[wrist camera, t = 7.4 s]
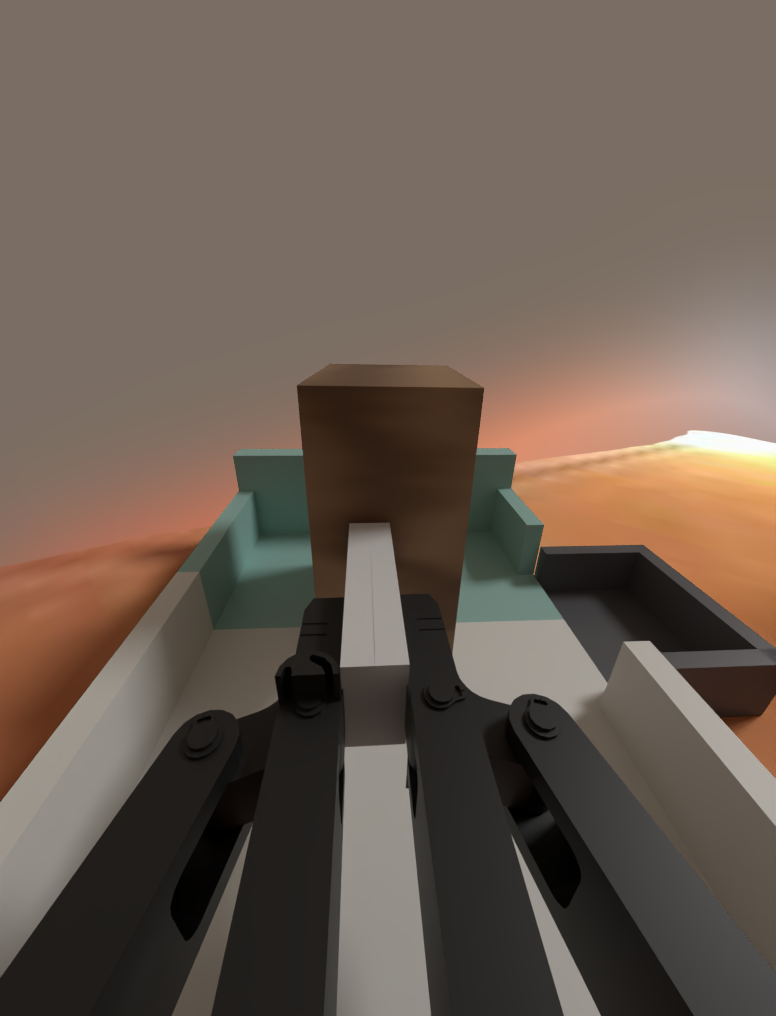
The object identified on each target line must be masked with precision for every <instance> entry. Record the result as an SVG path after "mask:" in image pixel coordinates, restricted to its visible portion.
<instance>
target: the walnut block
mask: <svg viewBox="0 0 776 1016" xmlns="http://www.w3.org/2000/svg"><path fill="white" fill-rule="evenodd" d="M297 391H298V402H299V415H300V426H301V437H302V449H303V461H304V472H305V484H306V495H307V507H308V518H309V530H310V541H311V553H312V564H313V576H314V587H315V598H338V597H345V584H346V568H347V553H348V538H349V523H390V529H391V536H392V543H393V550H394V557H395V564H396V571H397V578H398V586H399V593H400V595H404V594H429V595H430V596H431V597H432V598H433V599H434V600H435V601H436V602H437V604H438V605H439V608H440V612H441V615H442V620H443V623H444V626H445V631H446V634H447V637H448V641H449V644H450V648H451V652H452V653H453V644H454V636H455V628H456V619H457V611H458V602H459V594H460V586H461V577H462V569H463V561H464V552H465V544H466V536H467V527H468V519H469V510H470V502H471V494H472V485H473V477H474V469H475V460H476V452H477V443H478V435H479V427H480V418H481V409H482V402H483V393H484V388H483V387H481V386H480V385H478V384H477V383H475V382H473V381H472V380H470V379H468V378H466V377H465V376H463V375H462V374H459V373H458V372H457V371H455V370H453V369H451V368H450V367H448V366H430V365H426V366H425V365H360V364H359V365H357V364H329V365H328V366H326V367H325V368H323V369H321V370H320V371H318V372H317V373H315V374H314V375H312V376H311V377H309V378H308V379H306V380H305V381H303V382H301V383H300V384H298V385H297Z"/></svg>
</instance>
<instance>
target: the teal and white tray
mask: <svg viewBox="0 0 776 1016" xmlns="http://www.w3.org/2000/svg"><path fill="white" fill-rule="evenodd" d="M233 458H234V464H235V469H236V475H237V481H238V487H239V492H238V493H237V494H236V496H235V497H234V498H233V500H232V501H231V502H230V504H229V505H228V506H227V507H226V509H225V510H224V511H223V513H222V514H221V515H220V517H219V518H218V519H217V521H216V522H215V523H214V524H213V526H212V527H211V528H210V530H209V531H208V532H207V533H206V535H205V536H204V537H203V539H202V540H201V541H200V543H199V544H198V545H197V547H196V548H195V549H194V550H193V552H192V553H191V554H190V556H189V557H188V558H187V560H186V561H185V562H184V563H183V565H182V566H181V567H180V569H179V570H178V571H177V573H176V574H175V575H174V577H173V578H172V579H171V580H170V582H169V583H168V584H167V586H166V587H165V588H164V590H163V591H162V592H161V593H160V595H159V596H158V597H157V599H156V600H155V601H154V603H153V604H152V605H151V607H150V608H149V609H148V610H147V612H146V613H145V614H144V616H143V617H142V618H141V620H140V621H139V622H138V623H137V625H136V626H135V627H134V629H133V630H132V631H131V633H130V634H129V635H128V636H127V638H126V639H125V640H124V642H123V643H122V644H121V646H120V647H119V648H118V650H117V651H116V652H115V653H114V655H113V656H112V657H111V659H110V660H109V661H108V663H107V664H106V665H105V666H104V668H103V669H102V670H101V672H100V673H99V674H98V676H97V677H96V678H95V680H94V681H93V682H92V683H91V685H90V686H89V687H88V689H87V690H86V691H85V693H84V694H83V695H82V696H81V698H80V699H79V700H78V702H77V703H76V704H75V706H74V707H73V708H72V710H71V711H70V712H69V713H68V715H67V716H66V717H65V719H64V720H63V721H62V723H61V724H60V725H59V726H58V728H57V729H56V730H55V732H54V733H53V734H52V736H51V737H50V738H49V740H48V741H47V742H46V743H45V745H44V746H43V747H42V749H41V750H40V751H39V753H38V754H37V755H36V756H35V758H34V759H33V760H32V762H31V763H30V764H29V766H28V767H27V768H26V770H25V771H24V772H23V773H22V775H21V776H20V777H19V779H18V780H17V781H16V783H15V784H14V785H13V786H12V788H11V789H10V790H9V792H8V793H7V794H6V796H5V797H4V798H3V799H2V801H1V802H0V978H1V976H2V975H3V973H4V972H5V971H6V969H7V968H8V966H9V965H10V963H11V962H12V961H13V959H14V958H15V956H16V955H17V954H18V952H19V951H20V949H21V948H22V947H23V945H24V944H25V942H26V941H27V940H28V938H29V937H30V935H31V934H32V933H33V931H34V930H35V928H36V927H37V926H38V924H39V923H40V921H41V920H42V918H43V917H44V916H45V914H46V913H47V911H48V910H49V909H50V907H51V906H52V904H53V903H54V902H55V900H56V899H57V897H58V896H59V895H60V893H61V892H62V890H63V889H64V888H65V886H66V885H67V883H68V882H69V881H70V879H71V878H72V876H73V875H74V873H75V872H76V871H77V869H78V868H79V866H80V865H81V864H82V862H83V861H84V859H85V858H86V857H87V855H88V854H89V852H90V851H91V850H92V848H93V847H94V845H95V844H96V843H97V841H98V840H99V838H100V837H101V836H102V834H103V833H104V831H105V830H106V829H107V827H108V826H109V824H110V823H111V821H112V820H113V819H114V817H115V816H116V814H117V813H118V812H119V810H120V809H121V807H122V806H123V805H124V803H125V802H126V800H127V799H128V798H129V796H130V795H131V793H132V792H133V791H134V789H135V788H136V786H137V785H138V784H139V782H140V781H141V779H142V778H143V776H144V775H145V774H146V772H147V771H148V769H149V768H150V767H151V765H152V764H153V762H154V761H155V760H156V758H157V757H158V755H159V754H160V753H161V751H162V750H163V748H164V747H165V746H166V744H167V743H168V741H169V740H170V739H171V737H172V736H173V734H174V733H175V732H176V731H177V730H178V729H179V728H180V727H181V726H182V725H183V724H184V723H185V722H186V721H188V720H189V719H191V718H192V717H194V716H195V715H197V714H200V713H203V712H206V711H209V710H225V711H227V712H229V713H231V714H233V715H234V717H235V718H236V719H238V718H241V717H244V716H247V715H250V714H253V713H256V712H258V711H261V710H263V709H265V708H267V707H269V706H270V705H272V704H273V703H275V702H276V701H277V700H278V695H277V689H276V683H275V677H274V676H275V674H276V672H277V670H278V668H279V666H280V665H281V664H282V663H283V662H284V661H285V660H287V659H288V658H289V657H291V656H293V655H295V654H296V649H297V644H298V639H299V636H300V635H299V634H300V630H301V626H302V620H303V615H304V610H305V609H306V607H307V606H308V605H309V604H310V602H311V601H312V600H313V599H314V598H315V587H314V576H313V564H312V553H311V541H310V530H309V518H308V507H307V495H306V484H305V472H304V461H303V449H240V450H239V451H238V452H237V453H236V454H234V456H233ZM515 460H516V454H515V453H514V452H513V451H511V450H510V449H509V448H497V449H496V448H491V449H490V448H485V449H484V448H481V449H480V448H477V452H476V460H475V469H474V477H473V485H472V494H471V502H470V510H469V519H468V527H467V536H466V544H465V552H464V561H463V569H462V577H461V586H460V594H459V602H458V611H457V619H456V628H455V636H454V644H453V653H452V655H453V659H454V663H455V666H456V670H457V673H458V675H459V677H460V679H461V681H462V682H463V683H464V684H465V685H466V687H467V688H469V689H470V690H471V691H472V692H474V693H476V694H477V695H479V696H481V697H484V698H486V699H489V700H493V701H497V702H501V703H505V704H509V705H511V704H512V702H513V700H514V699H516V698H517V697H519V696H521V695H523V694H537V695H541V696H545V697H547V698H549V699H551V700H553V701H555V702H556V703H558V704H559V705H560V706H561V707H562V708H563V709H564V710H565V711H566V712H568V714H569V715H570V716H571V717H572V719H573V720H574V721H575V722H576V724H577V725H578V726H579V727H580V729H581V730H582V731H583V732H584V734H585V735H586V736H587V737H588V739H589V740H590V741H591V742H592V744H593V745H594V746H595V747H596V749H597V750H598V751H599V752H600V754H601V755H602V756H603V757H604V759H605V760H606V761H607V762H608V764H609V765H610V766H611V767H612V769H613V770H614V771H615V772H616V774H617V775H618V776H619V777H620V779H621V780H622V781H623V782H624V784H625V785H626V786H627V787H628V789H629V790H630V791H631V792H632V794H633V795H634V796H635V797H636V799H637V800H638V801H639V803H640V804H641V805H642V806H643V808H644V809H645V810H646V811H647V813H648V814H649V815H650V816H651V818H652V819H653V820H654V821H655V823H656V824H657V825H658V826H659V828H660V829H661V830H662V831H663V833H664V834H665V835H666V836H667V838H668V839H669V840H670V841H671V843H672V844H673V845H674V846H675V848H676V849H677V850H678V851H679V853H680V854H681V855H682V856H683V858H684V859H685V860H686V861H687V863H688V864H689V865H690V866H691V868H692V869H693V870H694V871H695V873H696V874H697V875H698V876H699V878H700V879H701V880H702V881H703V883H704V884H705V885H706V886H707V888H708V889H709V890H710V891H711V893H712V894H713V895H714V896H715V898H716V899H717V900H718V902H719V903H720V904H721V905H722V907H723V908H724V909H725V910H726V912H727V913H728V914H729V915H730V917H731V918H732V919H733V920H734V922H735V923H736V924H737V925H738V927H739V928H740V929H741V930H742V932H743V933H744V934H745V935H746V937H747V938H748V939H749V940H750V942H751V943H752V944H753V945H754V947H755V948H756V949H757V950H758V952H759V953H760V954H761V955H762V957H763V958H764V959H765V960H766V962H767V963H768V964H769V965H770V967H771V968H772V969H773V970H774V972H775V973H776V779H775V778H774V777H773V776H772V774H771V773H770V772H769V771H768V770H767V769H766V768H765V767H764V766H763V765H762V763H761V762H760V761H759V760H758V759H757V758H756V757H755V756H754V755H753V754H752V752H751V751H750V750H749V749H748V748H747V747H746V746H745V745H744V744H743V743H742V742H741V740H740V739H739V738H738V737H737V736H736V735H735V734H734V733H733V732H732V731H731V729H730V728H729V727H728V726H727V725H726V724H725V723H724V722H723V721H722V720H721V718H720V717H719V716H718V715H717V714H716V713H715V712H714V711H713V710H712V709H711V708H710V706H709V705H708V704H707V703H706V702H705V701H704V700H703V699H702V698H701V697H700V695H699V694H698V693H697V692H696V691H695V690H694V689H693V688H692V687H691V686H690V684H689V683H688V682H687V681H686V680H685V679H684V678H683V677H682V676H681V675H680V674H679V672H678V671H677V670H676V669H675V668H674V667H673V666H672V665H671V664H670V663H669V661H668V660H667V659H666V658H665V657H664V656H663V655H662V654H661V653H660V652H659V650H658V649H657V648H656V647H655V646H654V645H653V644H652V643H651V642H650V641H630V642H623V644H622V647H621V650H620V652H619V655H618V657H617V660H616V663H615V665H614V668H613V671H612V673H611V676H610V678H609V681H608V683H607V682H606V680H605V679H604V677H603V676H602V674H601V673H600V671H599V670H598V669H597V667H596V666H595V664H594V663H593V661H592V660H591V658H590V657H589V655H588V654H587V652H586V651H585V650H584V648H583V647H582V645H581V644H580V642H579V641H578V639H577V638H576V636H575V635H574V633H573V632H572V631H571V629H570V628H569V626H568V625H567V623H566V622H565V620H564V619H563V617H562V616H561V614H560V613H559V612H558V610H557V609H556V607H555V606H554V604H553V603H552V601H551V600H550V598H549V597H548V595H547V594H546V593H545V591H544V590H543V588H542V587H541V585H540V584H539V582H538V581H537V579H536V578H535V576H534V575H533V573H534V568H535V564H536V559H537V554H538V550H539V545H540V541H541V536H542V532H543V527H544V524H543V523H542V522H541V521H540V520H539V519H538V518H537V517H536V516H535V514H534V513H533V512H532V511H531V510H530V509H529V508H528V507H527V506H526V505H525V503H524V502H523V501H522V500H521V499H520V498H519V497H518V496H517V495H516V494H515V492H514V491H513V490H512V489H511V484H512V478H513V472H514V467H515ZM407 758H408V754H407V745H406V742H405V744H396V745H378V746H359V747H345V756H344V763H345V790H344V818H343V846H342V874H341V902H340V930H339V958H338V986H337V1014H336V1016H431V1010H430V1000H429V990H428V979H427V969H426V959H425V949H424V939H423V929H422V918H421V908H420V898H419V888H418V878H417V868H416V858H415V847H414V837H413V827H412V817H411V807H410V797H409V788H406V775H407ZM252 825H253V824H252ZM251 830H252V827H251V829H250V832H249V834H248V836H247V839H246V841H245V843H244V846H243V848H242V850H241V853H240V855H239V858H238V860H237V862H236V865H235V867H234V869H233V872H232V874H231V877H230V879H229V881H228V884H227V886H226V888H225V891H224V893H223V895H222V898H221V900H220V903H219V905H218V907H217V910H216V912H215V914H214V917H213V919H212V922H211V924H210V926H209V929H208V931H207V933H206V936H205V938H204V940H203V943H202V945H201V948H200V950H199V952H198V955H197V957H196V959H195V962H194V964H193V967H192V969H191V971H190V974H189V976H188V978H187V981H186V983H185V985H184V988H183V990H182V993H181V995H180V997H179V1000H178V1002H177V1004H176V1007H175V1009H174V1012H173V1014H172V1016H211V1013H212V1008H213V1004H214V999H215V995H216V990H217V985H218V981H219V976H220V972H221V967H222V963H223V958H224V953H225V949H226V944H227V940H228V935H229V930H230V926H231V921H232V917H233V912H234V908H235V903H236V898H237V894H238V889H239V885H240V880H241V875H242V871H243V866H244V862H245V857H246V852H247V848H248V843H249V839H250V834H251ZM511 836H512V835H511ZM512 839H513V837H512ZM513 843H514V846H515V849H516V853H517V856H518V860H519V863H520V867H521V870H522V873H523V877H524V880H525V884H526V887H527V891H528V894H529V897H530V901H531V904H532V908H533V911H534V915H535V918H536V922H537V925H538V928H539V932H540V935H541V939H542V942H543V946H544V949H545V952H546V956H547V959H548V963H549V966H550V970H551V973H552V976H553V980H554V983H555V987H556V990H557V994H558V997H559V1000H560V1004H561V1007H562V1011H563V1014H564V1016H601V1015H600V1013H599V1011H598V1009H597V1006H596V1004H595V1002H594V1000H593V998H592V996H591V994H590V992H589V990H588V988H587V986H586V984H585V982H584V980H583V978H582V976H581V974H580V972H579V970H578V968H577V966H576V964H575V962H574V960H573V958H572V956H571V954H570V952H569V950H568V948H567V946H566V944H565V942H564V940H563V938H562V936H561V934H560V932H559V930H558V928H557V926H556V924H555V922H554V920H553V918H552V916H551V914H550V912H549V910H548V908H547V906H546V904H545V902H544V900H543V898H542V896H541V893H540V891H539V889H538V887H537V885H536V883H535V881H534V879H533V877H532V875H531V873H530V871H529V869H528V867H527V865H526V863H525V861H524V859H523V857H522V855H521V853H520V851H519V849H518V847H517V845H516V843H515V841H514V839H513Z"/></svg>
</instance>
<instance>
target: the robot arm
mask: <svg viewBox="0 0 776 1016" xmlns="http://www.w3.org/2000/svg"><path fill="white" fill-rule="evenodd" d="M299 635H300V636H299V639H298V644H297V649H296V654H295V655H293V656H291V657H289V658H288V659H287V660H285V661H284V662H283V663H282V664H281V665H280V666H279V668H278V670H277V672H276V674H275V676H274V677H275V683H276V689H277V695H278V700H277V701H276V702H275V703H273V704H272V705H270V706H269V707H267V708H265V709H263V710H261V711H258V712H256V713H253V714H250V715H247V716H244V717H241V718H238V719H236V718H235V717H234V715H233V714H231V713H229V712H227V711H225V710H209V711H206V712H203V713H200V714H197V715H195V716H194V717H192V718H191V719H189V720H188V721H186V722H185V723H184V724H183V725H182V726H181V727H180V728H179V729H178V730H177V731H176V732H175V733H174V734H173V736H172V737H171V739H170V740H169V741H168V743H167V744H166V746H165V747H164V748H163V750H162V751H161V753H160V754H159V755H158V757H157V758H156V760H155V761H154V762H153V764H152V765H151V767H150V768H149V769H148V771H147V772H146V774H145V775H144V776H143V778H142V779H141V781H140V782H139V784H138V785H137V786H136V788H135V789H134V791H133V792H132V793H131V795H130V796H129V798H128V799H127V800H126V802H125V803H124V805H123V806H122V807H121V809H120V810H119V812H118V813H117V814H116V816H115V817H114V819H113V820H112V821H111V823H110V824H109V826H108V827H107V829H106V830H105V831H104V833H103V834H102V836H101V837H100V838H99V840H98V841H97V843H96V844H95V845H94V847H93V848H92V850H91V851H90V852H89V854H88V855H87V857H86V858H85V859H84V861H83V862H82V864H81V865H80V866H79V868H78V869H77V871H76V872H75V873H74V875H73V876H72V878H71V879H70V881H69V882H68V883H67V885H66V886H65V888H64V889H63V890H62V892H61V893H60V895H59V896H58V897H57V899H56V900H55V902H54V903H53V904H52V906H51V907H50V909H49V910H48V911H47V913H46V914H45V916H44V917H43V918H42V920H41V921H40V923H39V924H38V926H37V927H36V928H35V930H34V931H33V933H32V934H31V935H30V937H29V938H28V940H27V941H26V942H25V944H24V945H23V947H22V948H21V949H20V951H19V952H18V954H17V955H16V956H15V958H14V959H13V961H12V962H11V963H10V965H9V966H8V968H7V969H6V971H5V972H4V973H3V975H2V976H1V978H0V1016H172V1014H173V1012H174V1009H175V1007H176V1004H177V1002H178V1000H179V997H180V995H181V993H182V990H183V988H184V985H185V983H186V981H187V978H188V976H189V974H190V971H191V969H192V967H193V964H194V962H195V959H196V957H197V955H198V952H199V950H200V948H201V945H202V943H203V940H204V938H205V936H206V933H207V931H208V929H209V926H210V924H211V922H212V919H213V917H214V914H215V912H216V910H217V907H218V905H219V903H220V900H221V898H222V895H223V893H224V891H225V888H226V886H227V884H228V881H229V879H230V877H231V874H232V872H233V869H234V867H235V865H236V862H237V860H238V858H239V855H240V853H241V850H242V848H243V846H244V843H245V841H246V839H247V836H248V834H249V832H250V829H251V827H252V830H251V834H250V839H249V843H248V848H247V852H246V857H245V862H244V866H243V871H242V875H241V880H240V885H239V889H238V894H237V898H236V903H235V908H234V912H233V917H232V921H231V926H230V930H229V935H228V940H227V944H226V949H225V953H224V958H223V963H222V967H221V972H220V976H219V981H218V985H217V990H216V995H215V999H214V1004H213V1008H212V1013H211V1016H336V1014H337V986H338V958H339V930H340V902H341V874H342V846H343V818H344V790H345V763H344V756H345V747H359V746H378V745H396V744H405V742H406V745H407V754H408V758H407V775H406V788H409V797H410V807H411V817H412V827H413V837H414V847H415V858H416V868H417V878H418V888H419V898H420V908H421V918H422V929H423V939H424V949H425V959H426V969H427V979H428V990H429V1000H430V1010H431V1016H564V1014H563V1011H562V1007H561V1004H560V1000H559V997H558V994H557V990H556V987H555V983H554V980H553V976H552V973H551V970H550V966H549V963H548V959H547V956H546V952H545V949H544V946H543V942H542V939H541V935H540V932H539V928H538V925H537V922H536V918H535V915H534V911H533V908H532V904H531V901H530V897H529V894H528V891H527V887H526V884H525V880H524V877H523V873H522V870H521V867H520V863H519V860H518V856H517V853H516V849H515V846H514V843H513V839H514V841H515V843H516V845H517V847H518V849H519V851H520V853H521V855H522V857H523V859H524V861H525V863H526V865H527V867H528V869H529V871H530V873H531V875H532V877H533V879H534V881H535V883H536V885H537V887H538V889H539V891H540V893H541V896H542V898H543V900H544V902H545V904H546V906H547V908H548V910H549V912H550V914H551V916H552V918H553V920H554V922H555V924H556V926H557V928H558V930H559V932H560V934H561V936H562V938H563V940H564V942H565V944H566V946H567V948H568V950H569V952H570V954H571V956H572V958H573V960H574V962H575V964H576V966H577V968H578V970H579V972H580V974H581V976H582V978H583V980H584V982H585V984H586V986H587V988H588V990H589V992H590V994H591V996H592V998H593V1000H594V1002H595V1004H596V1006H597V1009H598V1011H599V1013H600V1015H601V1016H776V973H775V972H774V970H773V969H772V968H771V967H770V965H769V964H768V963H767V962H766V960H765V959H764V958H763V957H762V955H761V954H760V953H759V952H758V950H757V949H756V948H755V947H754V945H753V944H752V943H751V942H750V940H749V939H748V938H747V937H746V935H745V934H744V933H743V932H742V930H741V929H740V928H739V927H738V925H737V924H736V923H735V922H734V920H733V919H732V918H731V917H730V915H729V914H728V913H727V912H726V910H725V909H724V908H723V907H722V905H721V904H720V903H719V902H718V900H717V899H716V898H715V896H714V895H713V894H712V893H711V891H710V890H709V889H708V888H707V886H706V885H705V884H704V883H703V881H702V880H701V879H700V878H699V876H698V875H697V874H696V873H695V871H694V870H693V869H692V868H691V866H690V865H689V864H688V863H687V861H686V860H685V859H684V858H683V856H682V855H681V854H680V853H679V851H678V850H677V849H676V848H675V846H674V845H673V844H672V843H671V841H670V840H669V839H668V838H667V836H666V835H665V834H664V833H663V831H662V830H661V829H660V828H659V826H658V825H657V824H656V823H655V821H654V820H653V819H652V818H651V816H650V815H649V814H648V813H647V811H646V810H645V809H644V808H643V806H642V805H641V804H640V803H639V801H638V800H637V799H636V797H635V796H634V795H633V794H632V792H631V791H630V790H629V789H628V787H627V786H626V785H625V784H624V782H623V781H622V780H621V779H620V777H619V776H618V775H617V774H616V772H615V771H614V770H613V769H612V767H611V766H610V765H609V764H608V762H607V761H606V760H605V759H604V757H603V756H602V755H601V754H600V752H599V751H598V750H597V749H596V747H595V746H594V745H593V744H592V742H591V741H590V740H589V739H588V737H587V736H586V735H585V734H584V732H583V731H582V730H581V729H580V727H579V726H578V725H577V724H576V722H575V721H574V720H573V719H572V717H571V716H570V715H569V714H568V712H566V711H565V710H564V709H563V708H562V707H561V706H560V705H559V704H558V703H556V702H555V701H553V700H551V699H549V698H547V697H545V696H541V695H537V694H523V695H521V696H519V697H517V698H516V699H514V700H513V702H512V704H511V705H509V704H505V703H501V702H497V701H493V700H489V699H486V698H484V697H481V696H479V695H477V694H476V693H474V692H472V691H471V690H470V689H469V688H467V687H466V685H465V684H464V683H463V682H462V681H461V679H460V677H459V675H458V673H457V670H456V666H455V663H454V659H453V655H452V652H451V648H450V644H449V641H448V637H447V634H446V631H445V626H444V623H443V620H442V615H441V612H440V608H439V605H438V604H437V602H436V601H435V600H434V599H433V598H432V597H431V596H430V595H429V594H404V595H400V593H399V586H398V578H397V571H396V564H395V557H394V550H393V543H392V536H391V529H390V523H349V538H348V553H347V568H346V584H345V597H338V598H314V599H313V600H312V601H311V602H310V604H309V605H308V606H307V607H306V609H305V610H304V615H303V620H302V626H301V630H300V634H299ZM252 824H253V825H252ZM511 835H512V836H511ZM512 837H513V839H512Z"/></svg>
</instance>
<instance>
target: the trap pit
mask: <svg viewBox="0 0 776 1016" xmlns="http://www.w3.org/2000/svg"><path fill="white" fill-rule="evenodd" d="M534 576H535V578H536V579H537V581H538V582H539V584H540V585H541V587H542V588H543V590H544V591H545V593H546V594H547V595H548V597H549V598H550V600H551V601H552V603H553V604H554V606H555V607H556V609H557V610H558V612H559V613H560V614H561V616H562V617H563V619H564V620H565V622H566V623H567V625H568V626H569V628H570V629H571V631H572V632H573V633H574V635H575V636H576V638H577V639H578V641H579V642H580V644H581V645H582V647H583V648H584V650H585V651H586V652H587V654H588V655H589V657H590V658H591V660H592V661H593V663H594V664H595V666H596V667H597V669H598V670H599V671H600V673H601V674H602V676H603V677H604V679H605V680H606V682H607V683H608V681H609V678H610V676H611V673H612V671H613V668H614V665H615V663H616V660H617V657H618V655H619V652H620V650H621V647H622V644H623V642H630V641H650V642H651V643H652V644H653V645H654V646H655V647H656V648H657V649H658V650H659V652H660V653H661V654H662V655H663V656H664V657H665V658H666V659H667V660H668V661H669V663H670V664H671V665H672V666H673V667H674V668H675V669H676V670H677V671H678V672H679V674H680V675H681V676H682V677H683V678H684V679H685V680H686V681H687V682H688V683H689V684H690V686H691V687H692V688H693V689H694V690H695V691H696V692H697V693H698V694H699V695H700V697H701V698H702V699H703V700H704V701H705V702H706V703H707V704H708V705H709V706H710V708H711V709H712V710H713V711H714V712H715V713H716V714H717V715H718V716H719V717H722V716H744V715H762V714H763V713H764V711H765V710H766V708H767V707H768V705H769V704H770V702H771V701H772V699H773V698H774V696H775V695H776V648H775V647H773V646H772V645H771V644H770V643H768V642H767V641H766V640H764V639H763V638H762V637H761V636H759V635H758V634H757V633H755V632H754V631H753V630H752V629H750V628H749V627H748V626H746V625H745V624H744V623H743V622H741V621H740V620H739V619H737V618H736V617H735V616H734V615H732V614H731V613H730V612H729V611H727V610H726V609H725V608H723V607H722V606H721V605H720V604H718V603H717V602H716V601H714V600H713V599H712V598H711V597H709V596H708V595H707V594H705V593H704V592H703V591H702V590H700V589H699V588H698V587H696V586H695V585H694V584H693V583H691V582H690V581H689V580H687V579H686V578H685V577H684V576H682V575H681V574H680V573H678V572H677V571H676V570H675V569H673V568H672V567H671V566H669V565H668V564H667V563H666V562H664V561H663V560H662V559H660V558H659V557H658V556H657V555H655V554H654V553H653V552H652V551H650V550H649V549H648V548H646V547H645V546H644V545H616V546H561V547H541V548H540V553H539V557H538V562H537V566H536V571H535V575H534Z"/></svg>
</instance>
